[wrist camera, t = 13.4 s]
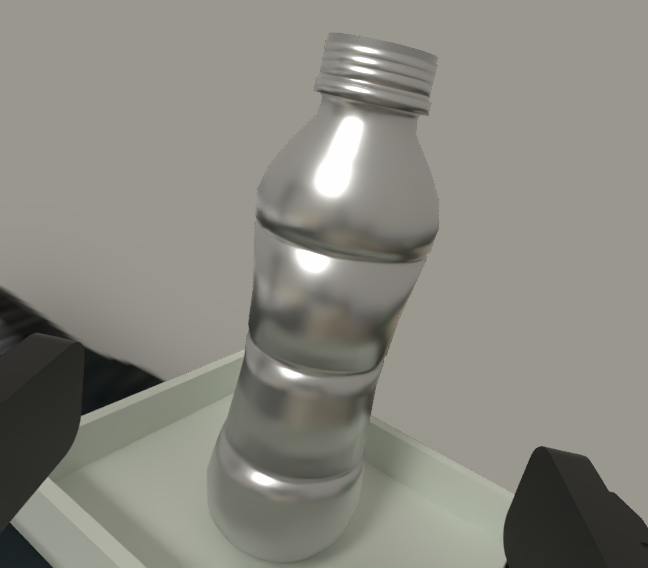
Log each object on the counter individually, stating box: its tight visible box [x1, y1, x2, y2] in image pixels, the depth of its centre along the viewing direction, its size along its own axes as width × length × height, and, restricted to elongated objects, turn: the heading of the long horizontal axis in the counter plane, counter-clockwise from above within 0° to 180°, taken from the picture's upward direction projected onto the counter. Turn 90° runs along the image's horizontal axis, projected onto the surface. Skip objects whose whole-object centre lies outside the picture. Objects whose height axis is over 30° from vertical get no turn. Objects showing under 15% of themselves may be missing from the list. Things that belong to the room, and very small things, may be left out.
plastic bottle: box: [207, 33, 439, 562], centre depth 21 cm, size 6×7×20 cm
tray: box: [10, 349, 515, 568], centre depth 24 cm, size 18×15×3 cm
